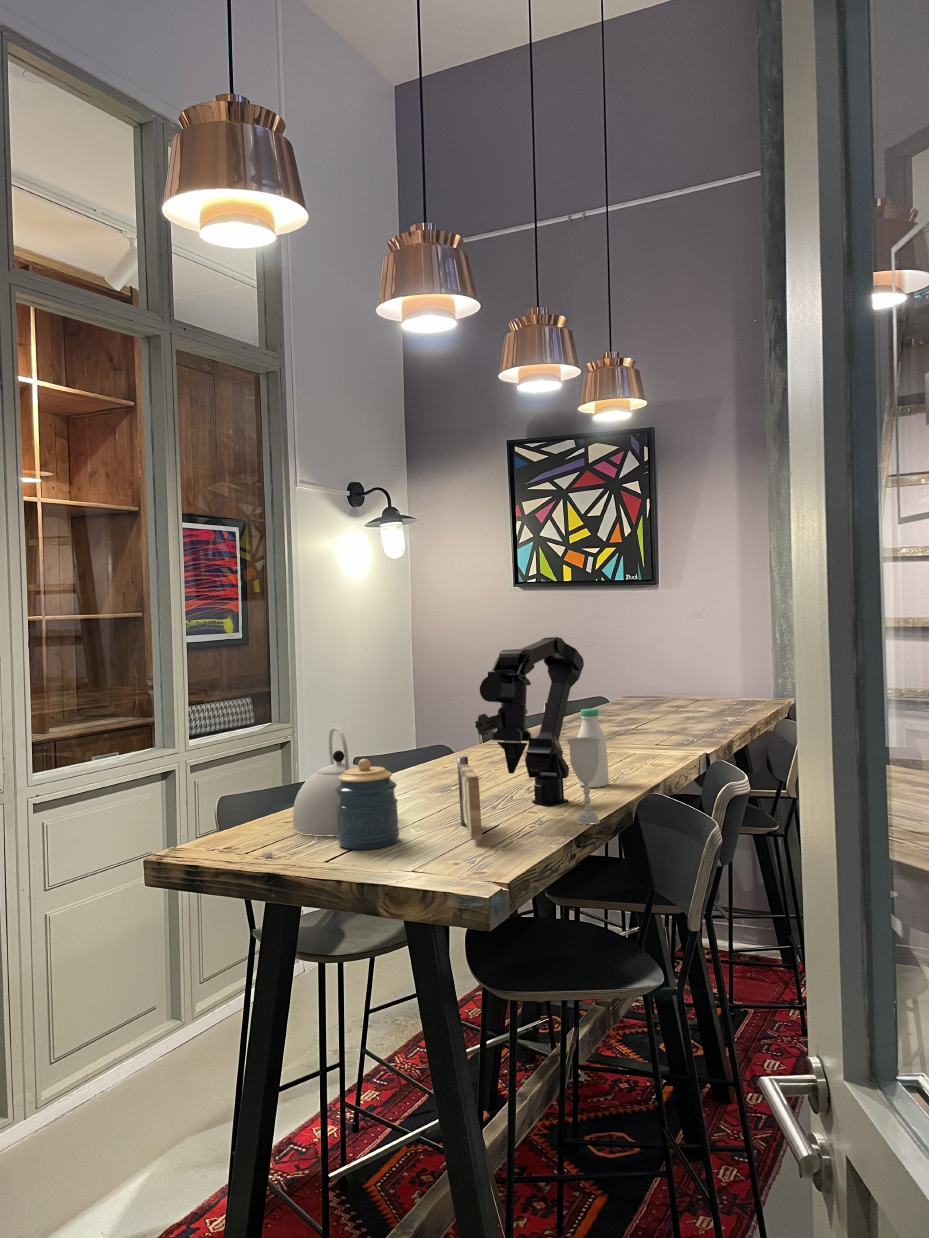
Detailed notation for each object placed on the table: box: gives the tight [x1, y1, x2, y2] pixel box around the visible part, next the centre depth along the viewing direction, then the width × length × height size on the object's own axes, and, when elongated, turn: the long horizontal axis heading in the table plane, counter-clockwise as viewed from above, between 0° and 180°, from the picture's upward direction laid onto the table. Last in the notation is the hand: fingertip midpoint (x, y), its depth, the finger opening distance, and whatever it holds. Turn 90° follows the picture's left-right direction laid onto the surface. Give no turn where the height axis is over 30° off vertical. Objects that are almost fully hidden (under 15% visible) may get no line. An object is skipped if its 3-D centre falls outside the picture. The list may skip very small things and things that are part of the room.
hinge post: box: [456, 756, 469, 827], centre depth 202 cm, size 2×2×15 cm
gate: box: [459, 763, 483, 840], centre depth 192 cm, size 17×2×12 cm, turn 7°
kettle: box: [292, 726, 358, 835], centre depth 212 cm, size 25×23×23 cm
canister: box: [335, 758, 400, 851], centre depth 192 cm, size 13×13×18 cm
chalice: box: [566, 737, 601, 825], centre depth 198 cm, size 7×7×18 cm
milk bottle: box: [576, 708, 610, 788], centre depth 238 cm, size 8×8×20 cm
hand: (511, 773), depth 207 cm, fingers closed
